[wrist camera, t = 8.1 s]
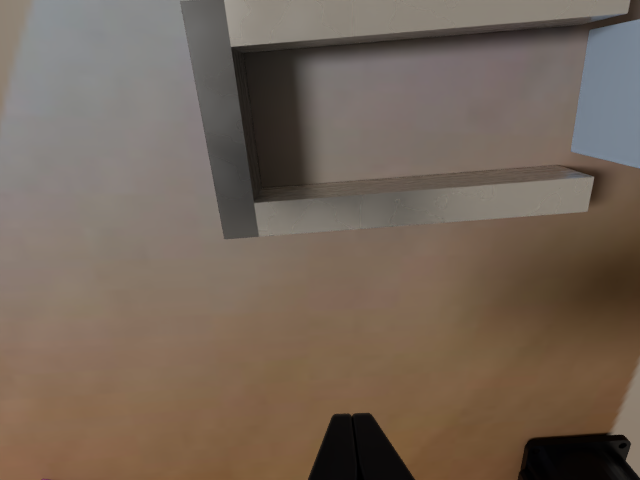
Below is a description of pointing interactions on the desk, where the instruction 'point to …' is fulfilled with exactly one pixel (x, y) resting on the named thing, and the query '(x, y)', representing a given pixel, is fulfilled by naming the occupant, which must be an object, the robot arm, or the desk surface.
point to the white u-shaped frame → (365, 195)
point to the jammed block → (610, 96)
